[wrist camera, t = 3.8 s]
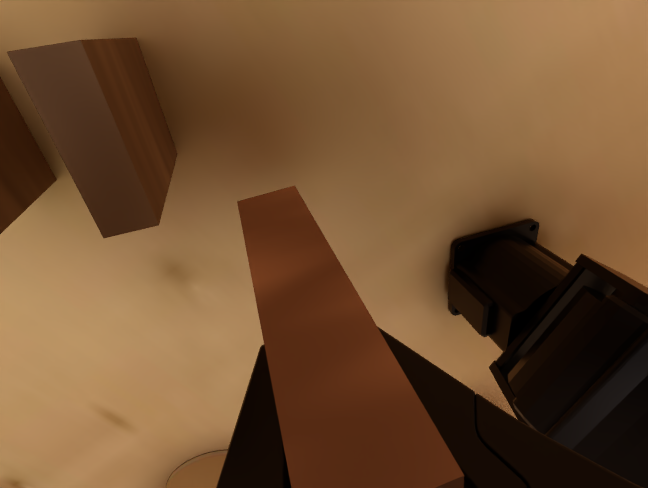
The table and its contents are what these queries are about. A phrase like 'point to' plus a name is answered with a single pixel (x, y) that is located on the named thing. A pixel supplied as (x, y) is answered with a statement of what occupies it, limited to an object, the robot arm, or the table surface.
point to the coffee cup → (199, 471)
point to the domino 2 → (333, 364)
